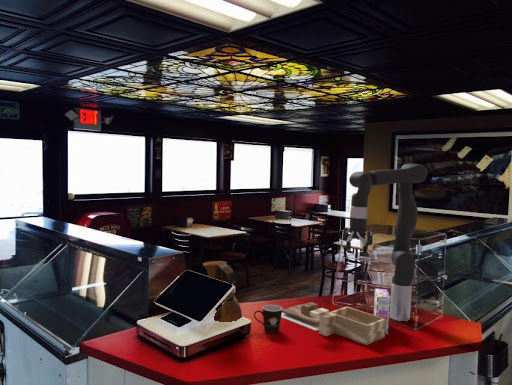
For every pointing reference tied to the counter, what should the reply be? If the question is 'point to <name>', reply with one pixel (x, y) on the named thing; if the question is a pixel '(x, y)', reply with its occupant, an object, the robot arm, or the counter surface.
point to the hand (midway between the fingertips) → (356, 252)
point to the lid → (303, 312)
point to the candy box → (382, 305)
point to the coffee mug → (271, 318)
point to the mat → (300, 322)
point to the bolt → (319, 312)
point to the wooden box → (353, 325)
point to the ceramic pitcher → (230, 307)
